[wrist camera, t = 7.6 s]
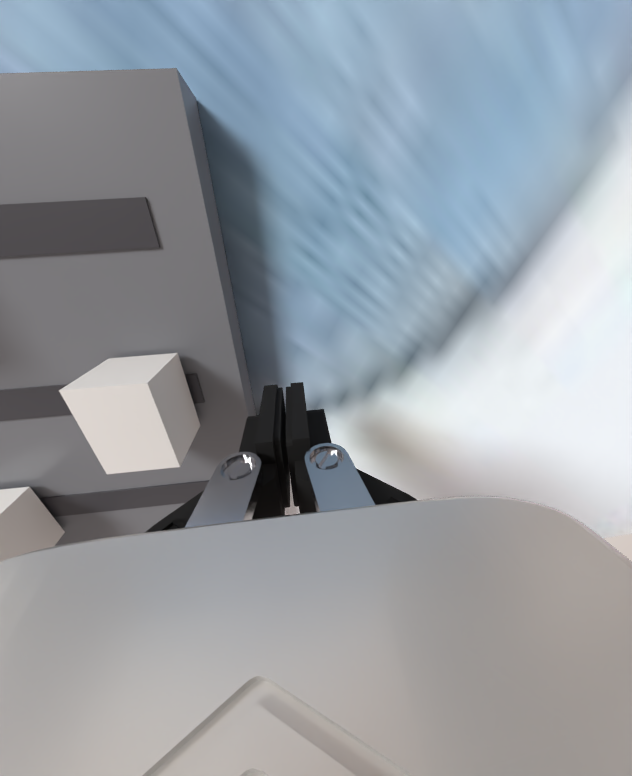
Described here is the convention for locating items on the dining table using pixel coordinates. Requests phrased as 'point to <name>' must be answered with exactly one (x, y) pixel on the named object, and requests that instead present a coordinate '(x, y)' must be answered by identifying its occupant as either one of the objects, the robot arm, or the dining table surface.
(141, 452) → the handle
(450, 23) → the dining table surface
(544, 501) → the dining table surface
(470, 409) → the dining table surface
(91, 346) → the breaker panel
